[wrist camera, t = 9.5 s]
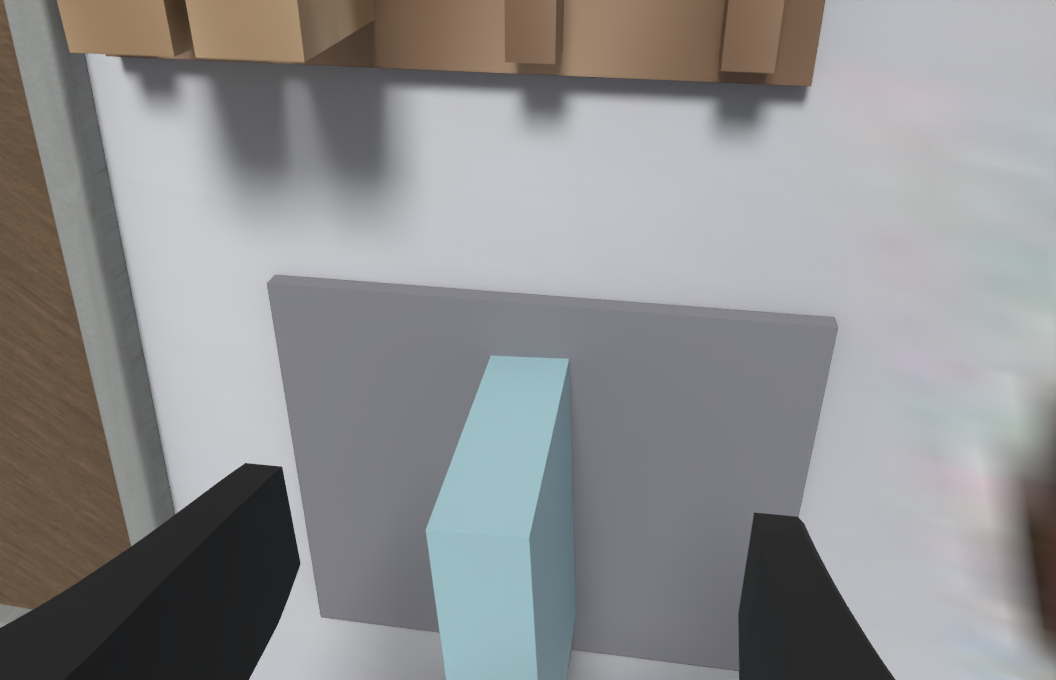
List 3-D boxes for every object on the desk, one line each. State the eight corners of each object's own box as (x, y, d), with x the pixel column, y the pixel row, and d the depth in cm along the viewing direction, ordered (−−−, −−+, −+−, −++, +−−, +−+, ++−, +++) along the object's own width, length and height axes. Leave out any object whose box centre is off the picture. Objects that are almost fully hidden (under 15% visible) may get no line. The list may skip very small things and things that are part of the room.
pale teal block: (569, 358, 22) (529, 537, 16) (575, 614, 26) (546, 823, 21) (490, 355, 22) (425, 530, 17) (510, 608, 27) (463, 813, 21)
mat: (834, 317, 21) (837, 327, 20) (764, 660, 27) (765, 674, 26) (274, 274, 23) (266, 283, 22) (326, 605, 29) (320, 617, 28)
